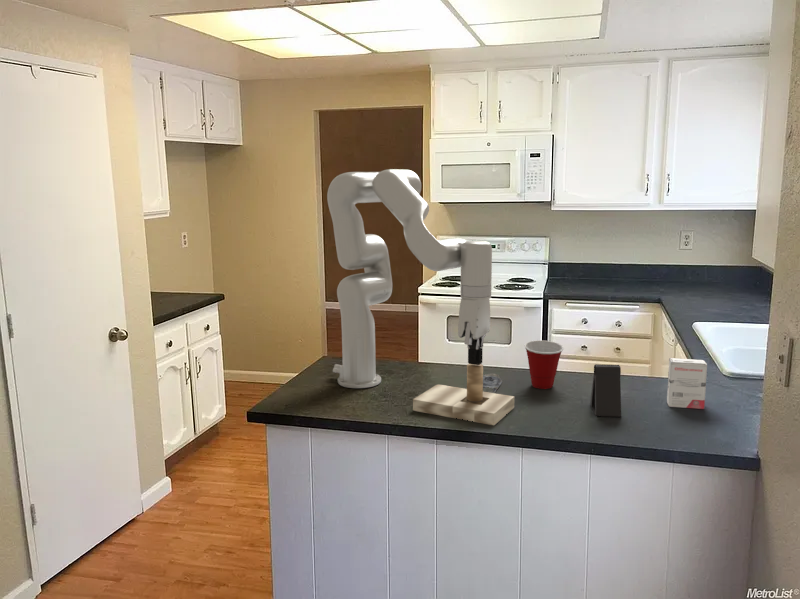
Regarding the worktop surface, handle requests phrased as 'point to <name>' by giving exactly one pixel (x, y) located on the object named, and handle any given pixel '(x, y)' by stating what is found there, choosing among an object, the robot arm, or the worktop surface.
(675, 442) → the worktop surface
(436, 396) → the board
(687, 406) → the ink box
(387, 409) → the worktop surface
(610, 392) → the phone stand
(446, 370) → the worktop surface
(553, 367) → the plastic cup
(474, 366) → the peg
